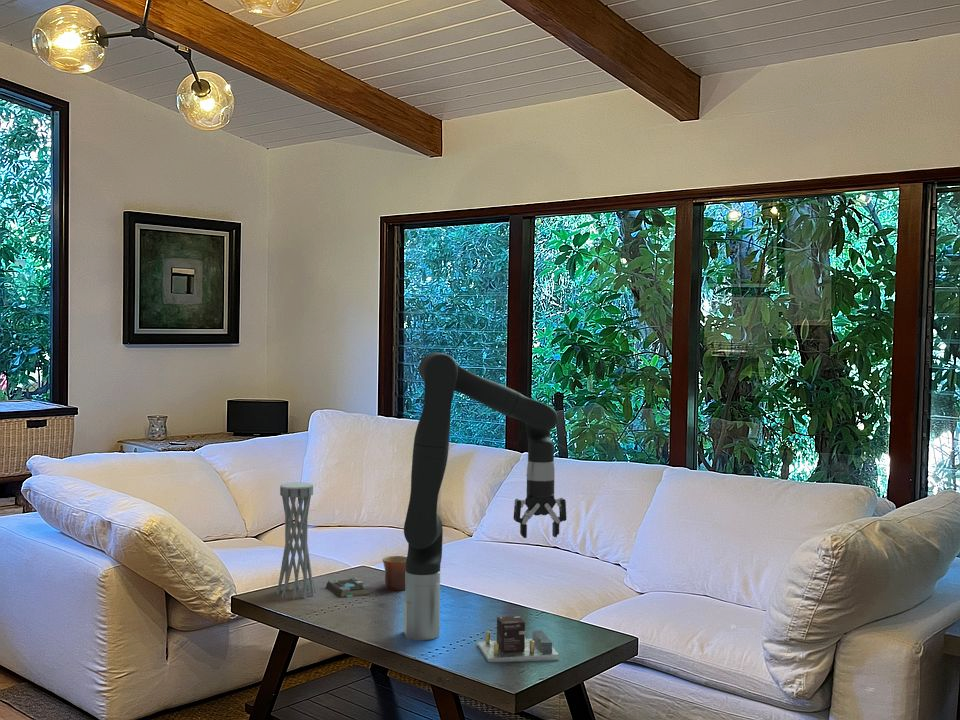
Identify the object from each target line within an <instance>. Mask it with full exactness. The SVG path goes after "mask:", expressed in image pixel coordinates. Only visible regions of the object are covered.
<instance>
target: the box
mask: <svg viewBox="0 0 960 720" xmlns="http://www.w3.org/2000/svg"><path fill="white" fill-rule="evenodd" d="M525 639H526V622H525V621H524V620H523V619H522V618H521V616H515V615H514V616H511V615H509V616H507V615H506V616H497V617H496V641H497V643H499V648H500V650H501V651H502V652H514V651H524V650H525Z"/></svg>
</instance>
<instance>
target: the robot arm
mask: <svg viewBox="0 0 960 720" xmlns="http://www.w3.org/2000/svg"><path fill="white" fill-rule="evenodd" d="M418 370H419V371H418V372H419V375H420V377H421V380H422V381H423V382H424V394H423V396H424V397H423V398H424V399H423V406H422V412H421V413H420V417H419V420H418V423H417V427H416V430H415V432H414V437H413V438H414V439H413V446H412V447H413V448H412V458H411V459H412V461H411V474H410V475H411V476H410V495H409V502H408V506H407V512H406V515H405V520H404V524H403V535H404V539H405V540H406V542H407V543H408V544H407V545H408V549H407V554H406V555H407V556H406V557H407V559H406V567H405V590H404V591H405V593H404V597H403V634H404V638H406V640H414V641H428V640H434V639H437V638H439V637H440V629H441V625H440V624H441V623H440V622H441V621H440V619H441V618H440V615H441V614H440V613H441V603H440V602H441V562H442V558H443V557H442V556H443V536H444V535H443V533H444V532H443V531H444V530H443V528H444V527H443V521H442V519H441V517H440V516H439V514H438V498H439V494H440V490H441V486H442V483H443V479H444V475H445V472H446V468H447V465H448V464H447V463H448V456H449V447H450V432H451V414H452V413H451V410H452V404H453V400H454V399H453V398H454V394H455V392H457V393H459V394H462V395H464V396H467V397H468V398H470V399H472V400H474V401H476V402H478V403H480V404H482V405H484V406H485V407H487V408H488V409H492V410H493V411H496V412H497V413H500V414H502V415H504V416H506V417H509V418H512V419H516V420H519V421H521V422H523V423H524V424H525V430H526V436H527V443H528V445H527V447H528V448H527V464H526V465H527V466H526V497H525V499H519V498H515V500H514V504H513V505H514V507H513V520H514V521H515V522H516V523H519V526H520V528H519V534H520V536H522V538H523V539H527V536H528V531H527V530H528V527H527V526H528V523H527V522H528V521H529V520H530V519H532V517H533V516H535V517H536V516H547V515H549V516H550V518H551V519H552V520H553V522H552V531H551V536H552V537H553V538H557V537H558V535H560V524H561V523H562V522H565V521H567V500H566V499H564V498H563V497H559V498H555V445H554V442H553V441H552V439H551V431H552V429H554V428H555V427H556V426H557V423H558V420H559V418H558V413H557V411H556V409H554V408H553V407H552V406H550V405H548V404H545V403H543V402H541V401H538V400H536V399H534V398H530V397H527V396H526V395H523V393H521V392H519V391H516V390H515V389H512V388H511V387H508V386H505V385H503V384H500V383H499V382H495V381H493V380H491V379H487V378H485V377H482V376H480V375H477V374H475V373H473V372H471V371H469V370H468V369H465V368H463V367H462V366H461V365H458V364H457V362H456V361H455V359H454V358H453V357H452V356H451V355H450V354H449V355H448V354H446V353H444V352H437V351H436V352H431V353H428V354H426V355H425V356H423V358H422V359H421V361H420V362H419V368H418ZM524 505H525V506H526V507H527V509H526V510H525V511H524V514H523V515H522V516H521V511H522V509H523V507H524ZM555 505H557V507H558V510H559V511H558V512H559V513H558V514H559V515H557V514H556V512H555V511H554V507H555Z"/></svg>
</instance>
